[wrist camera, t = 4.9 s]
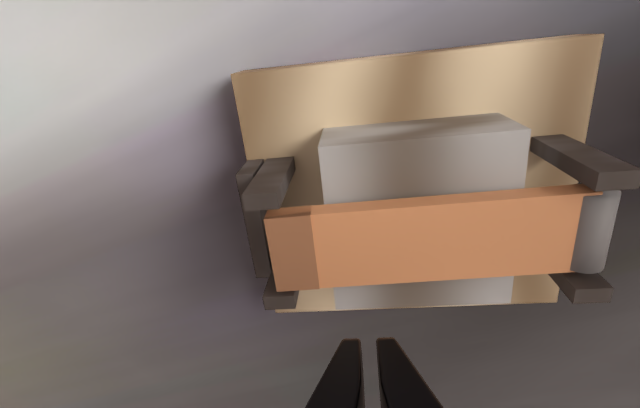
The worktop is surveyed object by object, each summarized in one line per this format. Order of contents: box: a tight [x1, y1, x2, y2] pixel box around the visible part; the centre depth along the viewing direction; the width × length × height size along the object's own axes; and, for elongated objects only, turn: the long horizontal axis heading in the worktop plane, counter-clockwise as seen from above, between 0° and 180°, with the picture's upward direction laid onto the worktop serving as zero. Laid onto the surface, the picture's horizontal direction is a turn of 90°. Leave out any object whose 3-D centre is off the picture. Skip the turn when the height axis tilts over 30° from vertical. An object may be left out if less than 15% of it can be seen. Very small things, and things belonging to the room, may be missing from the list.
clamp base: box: [231, 34, 640, 313], centre depth 16 cm, size 14×12×6 cm
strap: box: [264, 183, 621, 292], centre depth 13 cm, size 12×3×1 cm, turn 96°
